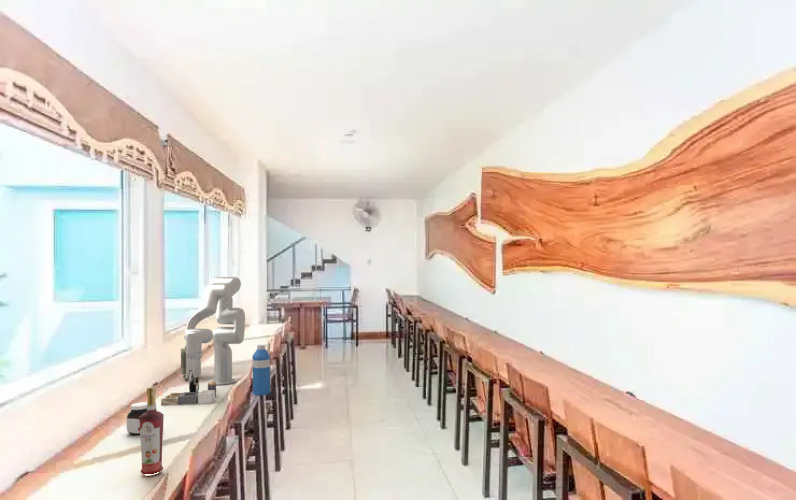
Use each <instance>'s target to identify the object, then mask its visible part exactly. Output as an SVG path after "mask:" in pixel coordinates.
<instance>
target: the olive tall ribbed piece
mask: <svg viewBox="0 0 796 500" xmlns="http://www.w3.org/2000/svg"><path fill="white" fill-rule="evenodd" d="M186 363H187V359H186V345H185V346H184V348H181V349H180V372H181V374H182V378H184V381H185V382H187V381H188V379H186ZM192 378H193V377H192Z"/></svg>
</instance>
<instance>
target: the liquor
mask: <svg viewBox="0 0 796 500" xmlns="http://www.w3.org/2000/svg"><path fill="white" fill-rule="evenodd" d="M156 392H157V387H155V386H150V387H147V388H146V396H147V401H146V402H147V412H146V413H144V414H142V415H141V416H140V417H139V420H140V435H139V438H140V448H141V449H140V450H141V469H140V473H141V474H142V475H143V474H154V473H157V472H160V471H161V472H162V471H163V470H164V466H163V465H162V464H163V439H164V438H163V437H164V418H165V417H164V415H165V414H164V413H162V412H161V411H158V410H157V403H156V401H157V400H156V395H157V393H156ZM161 472H160V473H161Z"/></svg>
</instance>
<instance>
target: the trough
mask: <svg viewBox="0 0 796 500" xmlns="http://www.w3.org/2000/svg"><path fill="white" fill-rule="evenodd" d="M182 393H183V392H170V393H168V394H167V395H165V396H163V397H162V398H161V399H160V403H161V404H160V405H161V406H177V405H178V396H179V395H181V394H182ZM178 406H179V405H178Z"/></svg>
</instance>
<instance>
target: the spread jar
mask: <svg viewBox="0 0 796 500" xmlns="http://www.w3.org/2000/svg"><path fill="white" fill-rule="evenodd" d="M147 402H148V401H145V402H144V401H141V402H136V403H132V404H131V405H130V410H129V412H128V413H127V415H126V419H125V420H126V424H125V425H126V431H127V433H128V434H129V435H131V436H133V437H134V436H135V435H136V436H137V435H139V436H140V420H139V417H140V416H141V415H142V414H144V413H146V412H147ZM137 437H138V436H137Z"/></svg>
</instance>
